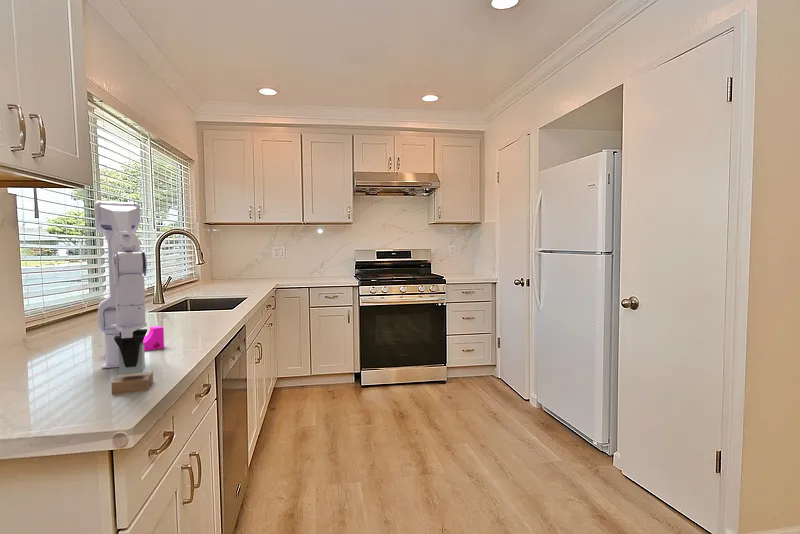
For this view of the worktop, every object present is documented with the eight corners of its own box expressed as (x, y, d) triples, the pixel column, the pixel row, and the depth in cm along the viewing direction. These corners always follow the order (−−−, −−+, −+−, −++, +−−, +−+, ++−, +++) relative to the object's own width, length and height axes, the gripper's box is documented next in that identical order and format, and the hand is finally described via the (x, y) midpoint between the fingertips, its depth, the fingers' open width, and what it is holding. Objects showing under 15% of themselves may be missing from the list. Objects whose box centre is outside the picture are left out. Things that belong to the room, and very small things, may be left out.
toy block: (157, 348, 147) (157, 325, 147) (164, 351, 143) (163, 327, 142) (103, 356, 137) (102, 331, 136) (108, 359, 132) (107, 334, 132)
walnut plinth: (119, 387, 106) (119, 374, 106) (153, 384, 109) (152, 371, 108) (111, 396, 100) (111, 382, 100) (147, 392, 102) (147, 379, 102)
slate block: (122, 370, 105) (121, 344, 105) (144, 367, 107) (144, 342, 107) (119, 375, 101) (118, 348, 101) (142, 372, 103) (141, 346, 102)
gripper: (115, 302, 108) (117, 358, 109) (103, 309, 95) (105, 374, 96) (149, 300, 111) (150, 355, 112) (142, 307, 98) (144, 370, 98)
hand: (132, 364), depth 104 cm, fingers closed on slate block, 4 cm apart
